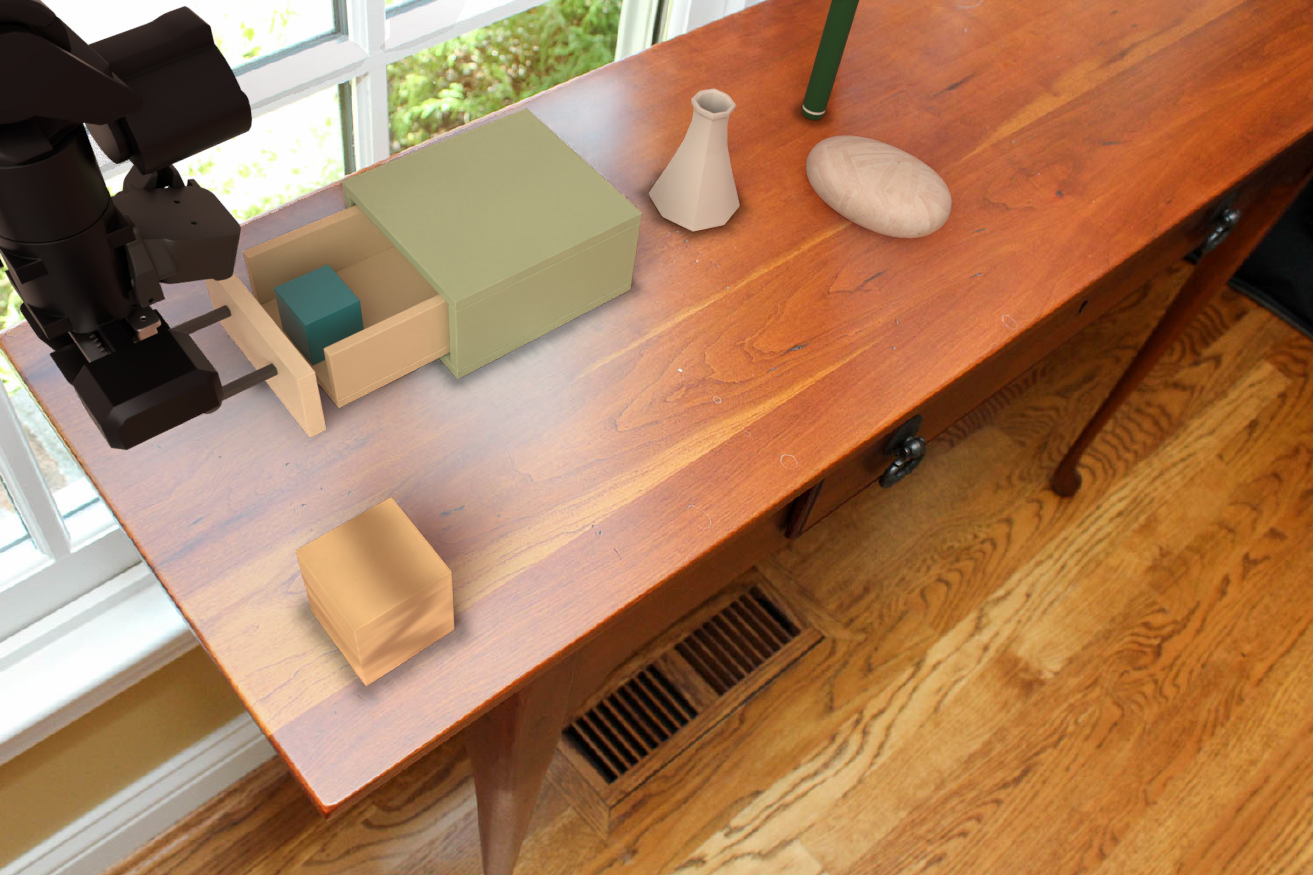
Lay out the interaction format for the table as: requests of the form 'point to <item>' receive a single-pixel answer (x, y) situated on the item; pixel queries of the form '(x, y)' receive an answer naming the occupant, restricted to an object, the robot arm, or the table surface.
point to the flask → (700, 169)
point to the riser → (378, 589)
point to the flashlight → (828, 57)
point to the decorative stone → (878, 186)
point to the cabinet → (503, 232)
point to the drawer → (391, 345)
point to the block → (318, 311)
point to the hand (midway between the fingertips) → (131, 399)
